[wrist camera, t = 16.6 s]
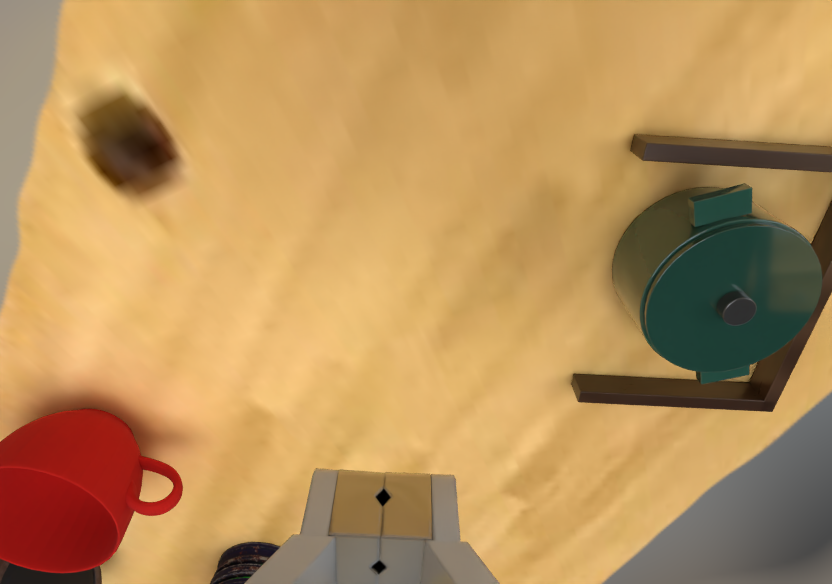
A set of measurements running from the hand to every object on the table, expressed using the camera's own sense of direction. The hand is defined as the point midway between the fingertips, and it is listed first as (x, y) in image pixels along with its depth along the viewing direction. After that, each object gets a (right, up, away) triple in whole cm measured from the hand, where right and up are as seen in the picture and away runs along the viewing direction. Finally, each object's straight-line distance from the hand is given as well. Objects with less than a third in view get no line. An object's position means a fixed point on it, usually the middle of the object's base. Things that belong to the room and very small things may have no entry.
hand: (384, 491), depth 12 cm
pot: (+22, +7, +32) cm, 39 cm away
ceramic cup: (-28, -9, +41) cm, 51 cm away
